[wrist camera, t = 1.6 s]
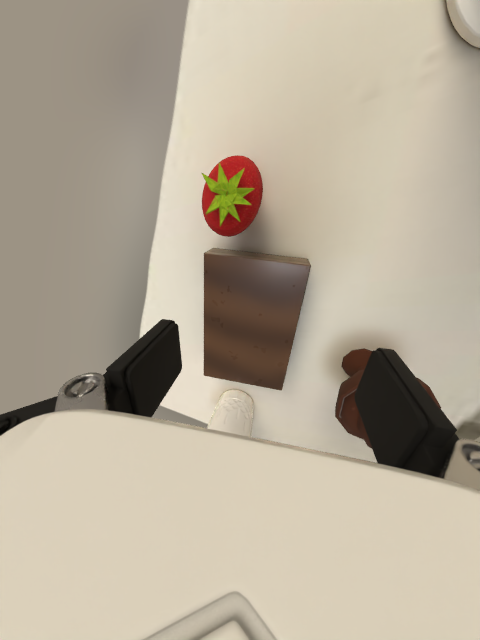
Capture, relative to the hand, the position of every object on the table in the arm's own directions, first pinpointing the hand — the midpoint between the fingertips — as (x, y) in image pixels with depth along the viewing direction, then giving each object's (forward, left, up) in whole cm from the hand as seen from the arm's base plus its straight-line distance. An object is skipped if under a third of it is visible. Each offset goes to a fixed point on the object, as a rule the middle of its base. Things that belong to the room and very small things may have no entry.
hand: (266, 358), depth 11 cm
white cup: (+28, -4, -22) cm, 36 cm away
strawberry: (-7, -6, -22) cm, 24 cm away
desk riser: (+9, -3, -22) cm, 24 cm away
